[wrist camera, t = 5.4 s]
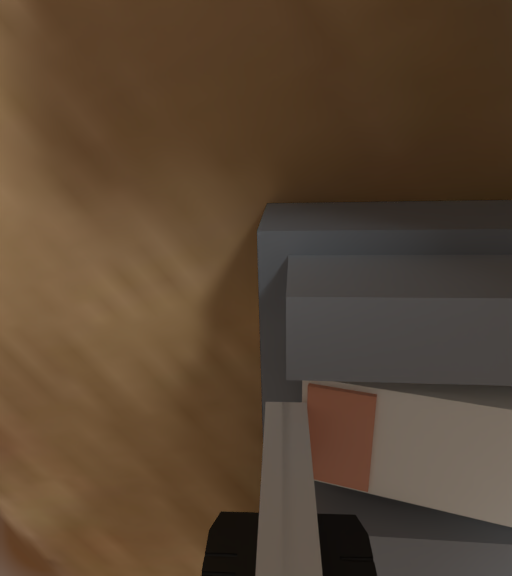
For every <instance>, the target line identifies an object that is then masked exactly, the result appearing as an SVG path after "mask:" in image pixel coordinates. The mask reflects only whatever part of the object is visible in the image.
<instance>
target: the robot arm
mask: <svg viewBox="0 0 512 576" xmlns="http://www.w3.org/2000/svg"><path fill="white" fill-rule="evenodd" d="M202 576H377V572H376V567H375V563H374V560H373V553H372V549H371V544H370V539H369V535H368V533H367V531H366V530H365V528H364V527H363V525H362V524H361V522H360V521H359V519H358V518H357V516H356V515H351V514H317V509H316V498H315V487H314V477H313V466H312V455H311V444H310V433H309V423H308V412H307V402H266V404H265V421H264V438H263V455H262V471H261V488H260V505H259V513H251V512H220V514H219V515H218V517H217V519H216V520H215V522H214V523H213V525H212V527H211V528H210V530H209V534H208V540H207V545H206V551H205V557H204V562H203V567H202Z"/></svg>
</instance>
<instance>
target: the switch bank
mask: <svg viewBox="0 0 512 576" xmlns="http://www.w3.org/2000/svg"><path fill="white" fill-rule="evenodd" d="M257 251H258V285H259V319H260V353H261V387H262V421H263V438H264V421H265V404H266V402H302V380H304V381H343V382H381V383H419V384H458V385H496V386H512V200H471V201H400V202H329V203H267V205H266V208H265V210H264V213H263V216H262V219H261V221H260V224H259V227H258V230H257ZM314 487H315V498H316V509H317V514H351V515H356V516H357V518H358V519H359V521H360V522H361V524H362V525H363V527H364V528H365V530H366V531H367V533H368V535H369V539H370V544H371V549H372V553H373V560H374V563H375V567H376V572H377V576H512V527H508V526H504V525H499V524H495V523H491V522H487V521H483V520H478V519H474V518H470V517H466V516H462V515H457V514H453V513H449V512H445V511H441V510H436V509H432V508H428V507H424V506H420V505H415V504H411V503H407V502H403V501H399V500H394V499H390V498H386V497H382V496H378V495H373V494H369V493H365V492H361V491H357V490H352V489H348V488H344V487H340V486H336V485H331V484H327V483H323V482H319V481H315V480H314Z"/></svg>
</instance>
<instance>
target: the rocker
mask: <svg viewBox="0 0 512 576" xmlns="http://www.w3.org/2000/svg"><path fill="white" fill-rule="evenodd" d="M302 402H307V412H308V423H309V433H310V444H311V455H312V466H313V477H314V480H315V481H319V482H323V483H327V484H331V485H336V486H340V487H344V488H348V489H352V490H357V491H361V492H365V493H369V494H373V495H378V496H382V497H386V498H390V499H394V500H399V501H403V502H407V503H411V504H415V505H420V506H424V507H428V508H432V509H436V510H441V511H445V512H449V513H453V514H457V515H462V516H466V517H470V518H474V519H478V520H483V521H487V522H491V523H495V524H499V525H504V526H508V527H512V386H496V385H458V384H419V383H381V382H343V381H304V380H302Z"/></svg>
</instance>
